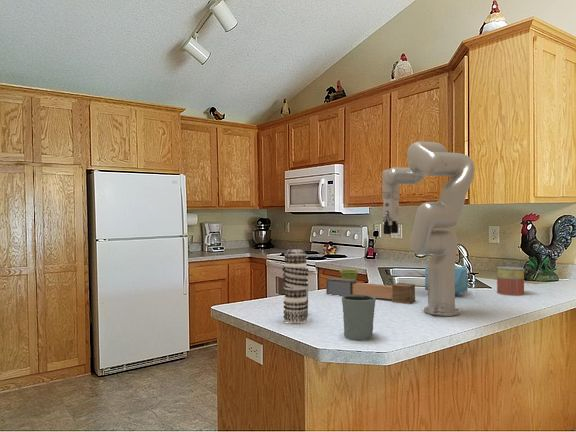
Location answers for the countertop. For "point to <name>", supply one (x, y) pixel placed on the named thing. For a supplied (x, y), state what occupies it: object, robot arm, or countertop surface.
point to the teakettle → (460, 280)
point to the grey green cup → (358, 316)
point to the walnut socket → (403, 293)
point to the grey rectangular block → (339, 286)
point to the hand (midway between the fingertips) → (390, 233)
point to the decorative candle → (295, 286)
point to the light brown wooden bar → (371, 290)
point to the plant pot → (349, 274)
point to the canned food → (510, 281)
